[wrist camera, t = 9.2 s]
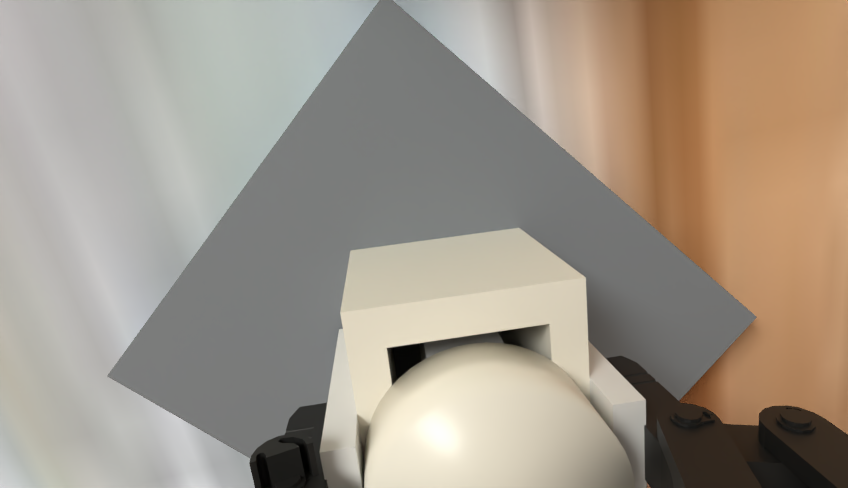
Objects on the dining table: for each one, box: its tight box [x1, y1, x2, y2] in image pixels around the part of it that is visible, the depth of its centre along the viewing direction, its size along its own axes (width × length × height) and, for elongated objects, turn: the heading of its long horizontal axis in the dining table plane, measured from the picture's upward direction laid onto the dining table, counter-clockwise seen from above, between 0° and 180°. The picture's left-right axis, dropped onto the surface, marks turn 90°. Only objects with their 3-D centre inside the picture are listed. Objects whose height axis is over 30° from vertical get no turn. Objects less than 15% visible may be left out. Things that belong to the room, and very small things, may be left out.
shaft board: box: [108, 0, 757, 459], centre depth 16 cm, size 15×17×6 cm
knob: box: [340, 228, 635, 488], centre depth 14 cm, size 8×6×8 cm
